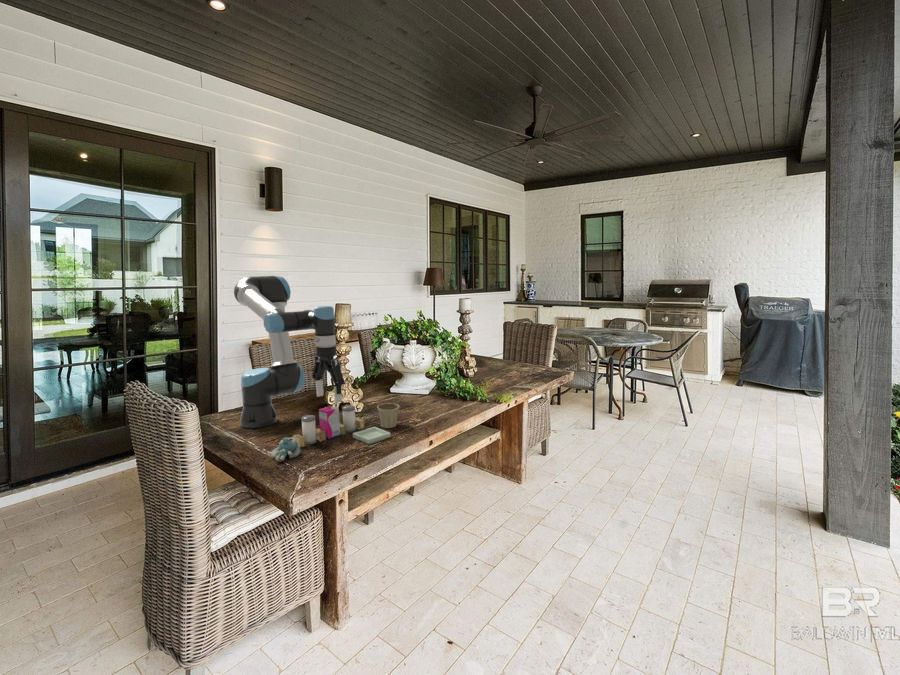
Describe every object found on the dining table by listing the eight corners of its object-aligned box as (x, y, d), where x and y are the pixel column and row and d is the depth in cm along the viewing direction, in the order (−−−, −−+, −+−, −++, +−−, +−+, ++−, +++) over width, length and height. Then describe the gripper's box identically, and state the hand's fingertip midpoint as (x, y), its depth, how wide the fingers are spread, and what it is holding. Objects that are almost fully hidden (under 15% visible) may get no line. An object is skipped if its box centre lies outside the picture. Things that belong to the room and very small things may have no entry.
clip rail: (289, 442, 178) (288, 433, 178) (353, 423, 199) (352, 416, 198) (299, 447, 173) (299, 438, 172) (364, 428, 193) (363, 420, 192)
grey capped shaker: (340, 430, 191) (339, 407, 189) (351, 427, 194) (350, 404, 193) (347, 433, 187) (346, 409, 186) (358, 430, 191) (357, 407, 189)
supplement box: (331, 432, 189) (330, 405, 187) (340, 435, 185) (339, 408, 183) (319, 436, 184) (318, 408, 182) (328, 439, 180) (327, 411, 179)
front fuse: (300, 442, 178) (298, 417, 177) (312, 438, 182) (311, 414, 180) (306, 445, 174) (305, 420, 173) (319, 441, 178) (317, 417, 177)
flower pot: (403, 427, 194) (403, 407, 193) (383, 431, 189) (382, 411, 188) (394, 421, 202) (393, 402, 201) (374, 425, 197) (373, 405, 196)
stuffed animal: (262, 449, 158) (275, 430, 169) (265, 466, 160) (278, 447, 171) (293, 449, 157) (304, 430, 169) (295, 467, 160) (306, 447, 171)
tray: (352, 437, 182) (352, 433, 182) (374, 430, 190) (374, 426, 190) (368, 444, 175) (368, 439, 175) (390, 437, 182) (390, 432, 182)
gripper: (301, 344, 185) (304, 395, 188) (334, 350, 168) (337, 406, 171) (318, 341, 190) (321, 391, 193) (352, 347, 173) (354, 402, 176)
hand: (328, 399), depth 182 cm, fingers open, 13 cm apart
